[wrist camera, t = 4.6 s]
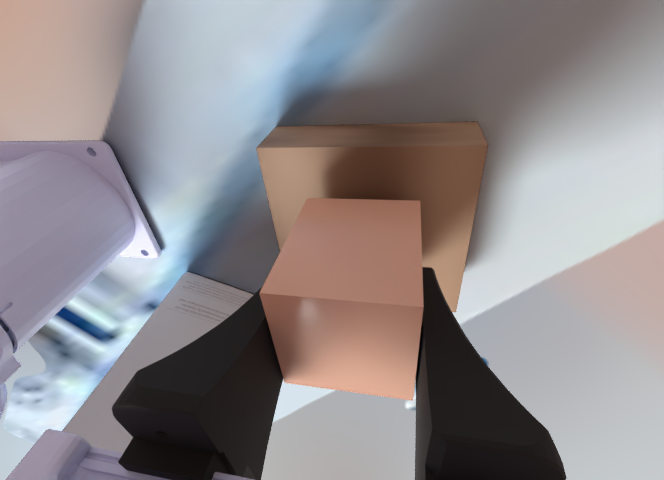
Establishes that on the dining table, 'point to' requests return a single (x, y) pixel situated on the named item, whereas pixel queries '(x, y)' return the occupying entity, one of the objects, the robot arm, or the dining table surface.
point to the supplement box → (154, 352)
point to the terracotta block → (349, 296)
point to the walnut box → (384, 179)
